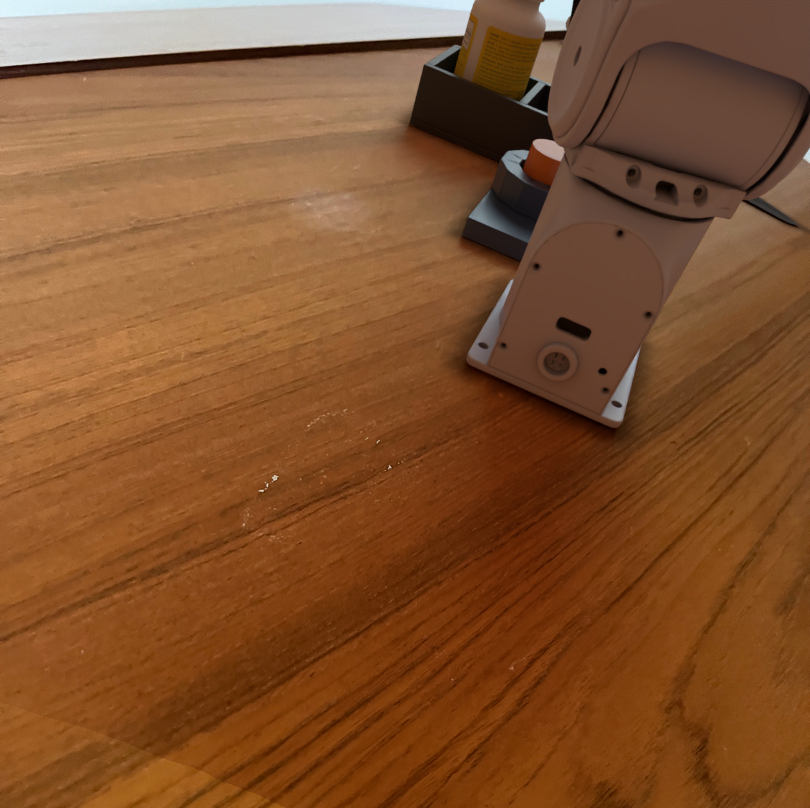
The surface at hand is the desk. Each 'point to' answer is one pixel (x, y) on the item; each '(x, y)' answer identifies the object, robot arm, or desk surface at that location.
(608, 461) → the desk surface
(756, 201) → the knife
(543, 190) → the block
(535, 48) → the supplement bottle
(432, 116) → the rack
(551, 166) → the button
